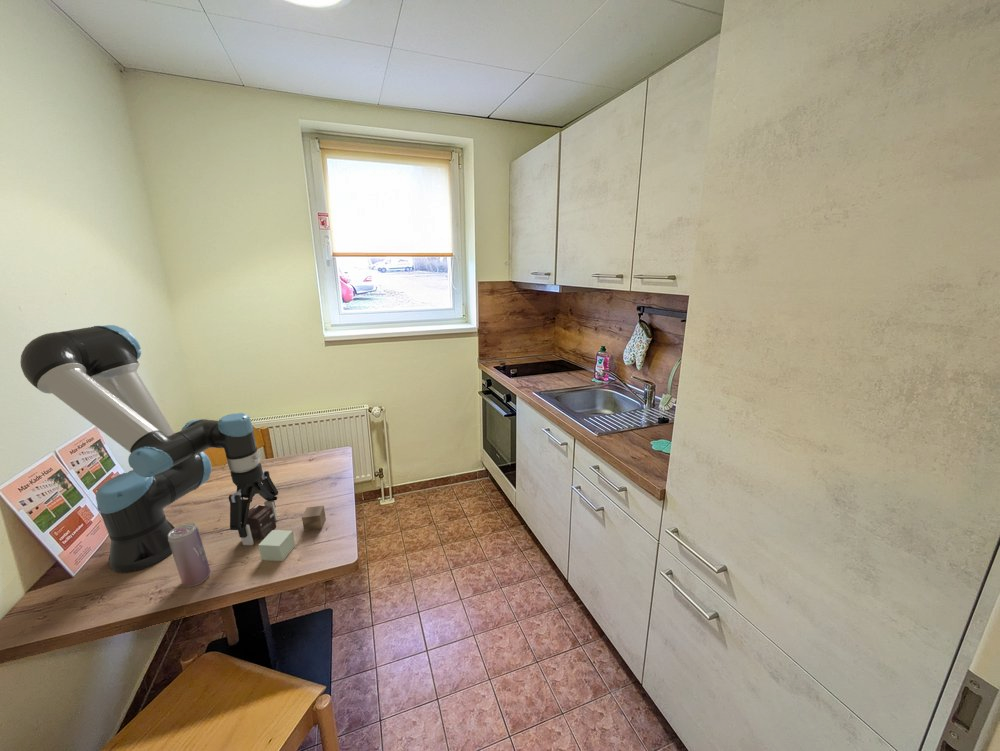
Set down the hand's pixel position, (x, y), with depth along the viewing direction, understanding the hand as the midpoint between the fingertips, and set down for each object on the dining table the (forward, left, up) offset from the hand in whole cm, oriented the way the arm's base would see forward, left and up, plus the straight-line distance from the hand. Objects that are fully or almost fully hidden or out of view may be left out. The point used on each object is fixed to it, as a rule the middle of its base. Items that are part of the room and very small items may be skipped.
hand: (261, 531), depth 117 cm
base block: (+11, -8, 0) cm, 14 cm away
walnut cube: (+15, +4, 0) cm, 15 cm away
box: (0, 0, 0) cm, 0 cm away
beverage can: (-5, -18, 0) cm, 19 cm away
